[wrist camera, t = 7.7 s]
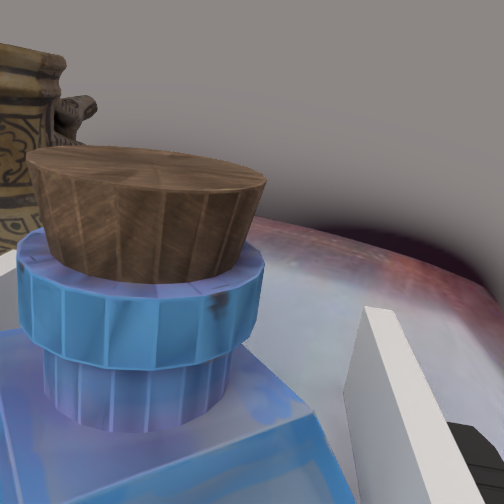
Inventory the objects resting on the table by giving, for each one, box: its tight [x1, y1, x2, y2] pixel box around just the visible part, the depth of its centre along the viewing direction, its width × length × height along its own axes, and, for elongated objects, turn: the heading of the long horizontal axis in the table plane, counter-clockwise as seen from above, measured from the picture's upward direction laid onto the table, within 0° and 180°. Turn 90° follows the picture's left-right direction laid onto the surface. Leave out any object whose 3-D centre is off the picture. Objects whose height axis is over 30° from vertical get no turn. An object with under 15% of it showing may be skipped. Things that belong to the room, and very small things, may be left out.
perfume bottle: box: [0, 145, 357, 504], centre depth 8 cm, size 6×6×12 cm
